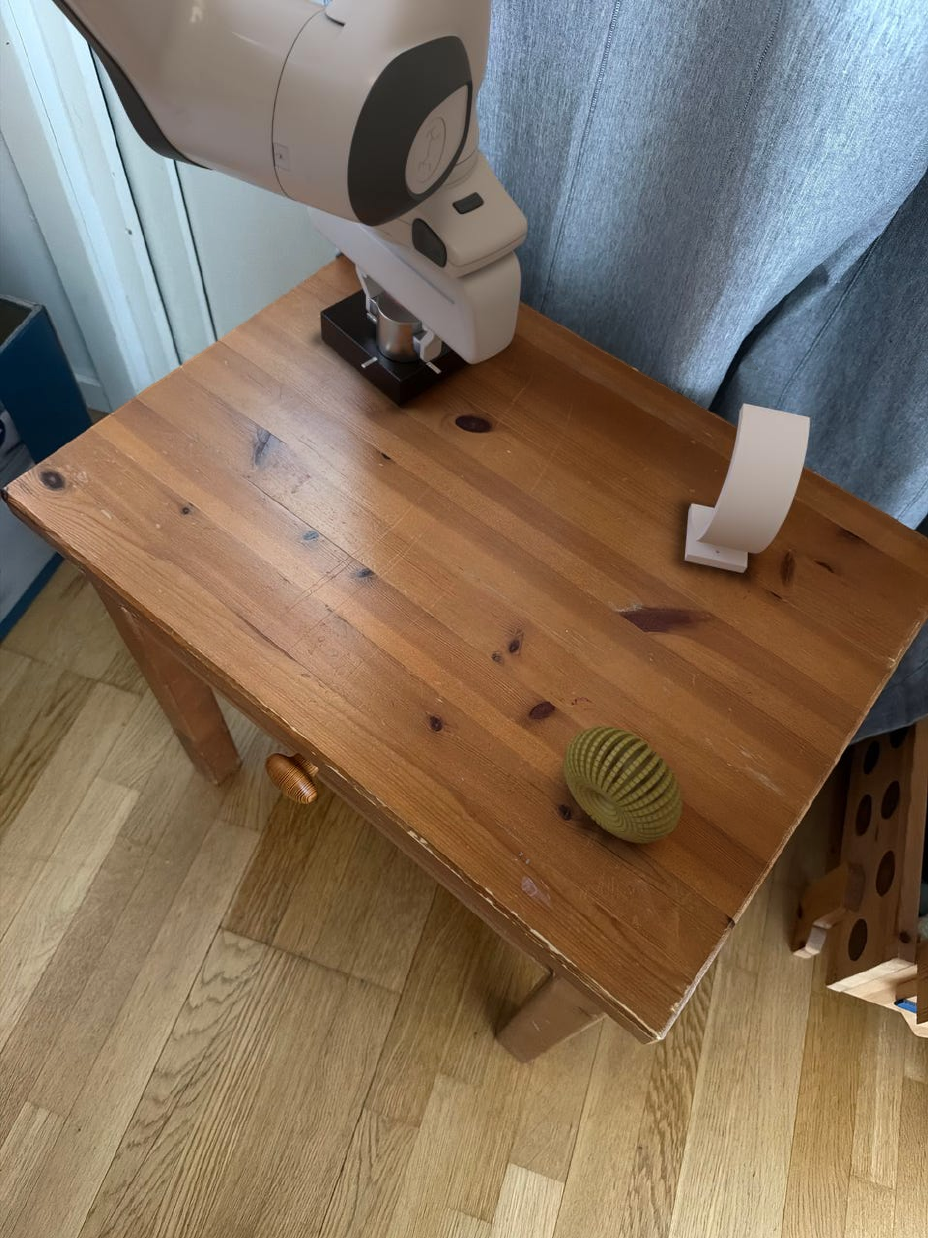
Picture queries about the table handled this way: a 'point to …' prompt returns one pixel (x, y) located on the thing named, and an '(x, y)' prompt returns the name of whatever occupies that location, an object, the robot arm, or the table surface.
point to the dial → (396, 329)
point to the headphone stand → (751, 490)
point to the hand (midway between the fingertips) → (403, 333)
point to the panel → (356, 343)
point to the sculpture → (623, 784)
